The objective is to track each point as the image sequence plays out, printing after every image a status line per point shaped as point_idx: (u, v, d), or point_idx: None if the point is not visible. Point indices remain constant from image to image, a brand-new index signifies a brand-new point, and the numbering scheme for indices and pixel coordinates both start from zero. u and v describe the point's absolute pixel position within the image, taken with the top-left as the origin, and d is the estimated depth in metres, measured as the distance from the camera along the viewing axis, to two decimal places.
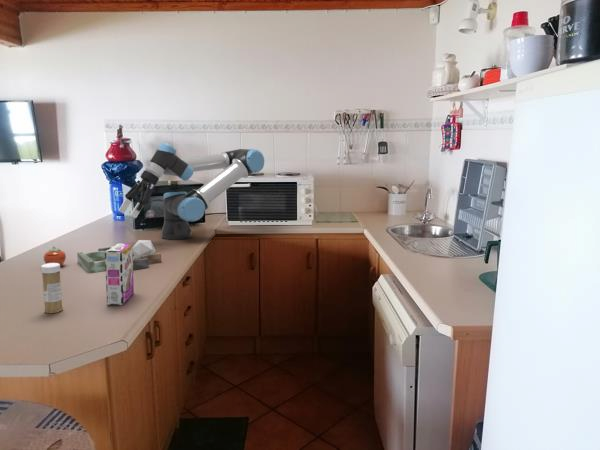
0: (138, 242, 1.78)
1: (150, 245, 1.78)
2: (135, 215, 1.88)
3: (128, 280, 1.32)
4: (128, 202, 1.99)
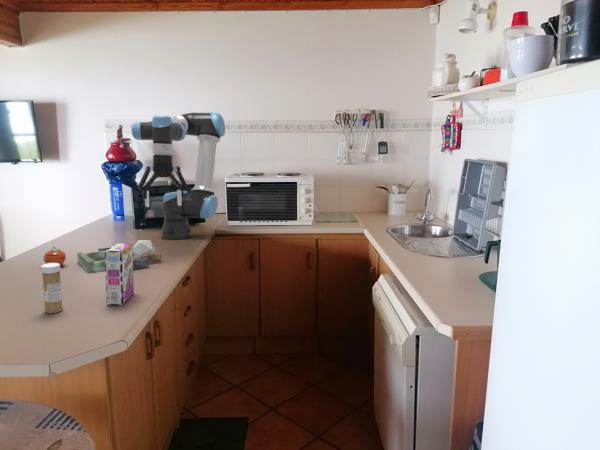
0: (138, 242, 1.78)
1: (150, 245, 1.78)
2: None
3: (128, 280, 1.32)
4: None
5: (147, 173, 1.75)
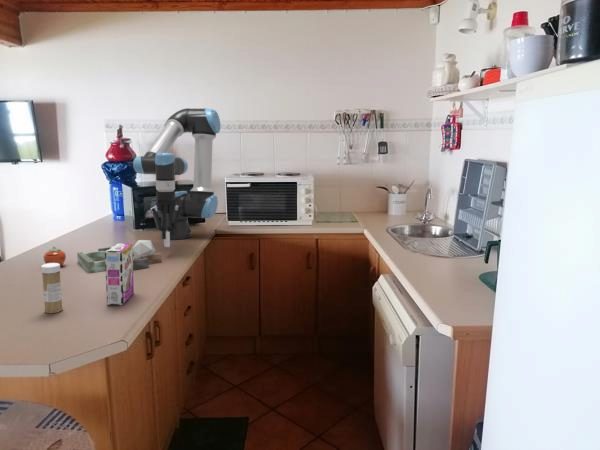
0: (138, 242, 1.78)
1: (150, 245, 1.78)
2: None
3: (128, 280, 1.32)
4: None
5: (156, 214, 1.79)
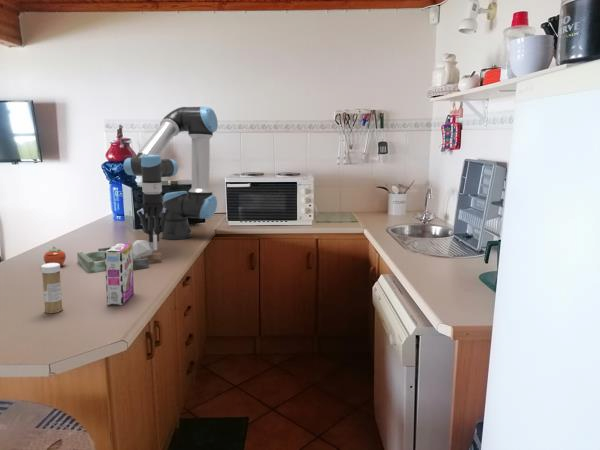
0: (135, 242, 1.77)
1: (147, 245, 1.77)
2: None
3: (128, 280, 1.32)
4: None
5: (142, 217, 1.75)
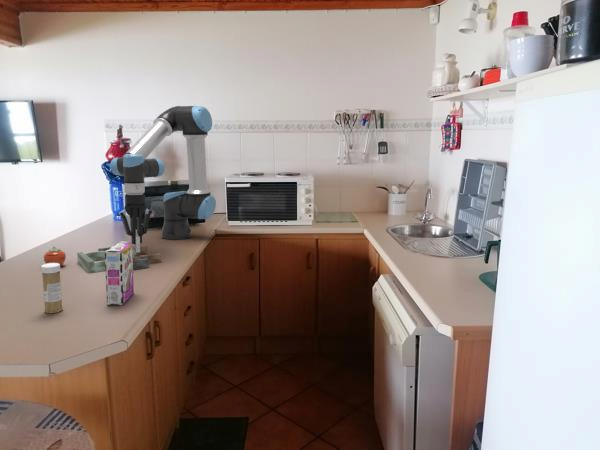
0: (119, 242, 1.75)
1: None
2: None
3: (128, 280, 1.32)
4: None
5: (124, 219, 1.71)
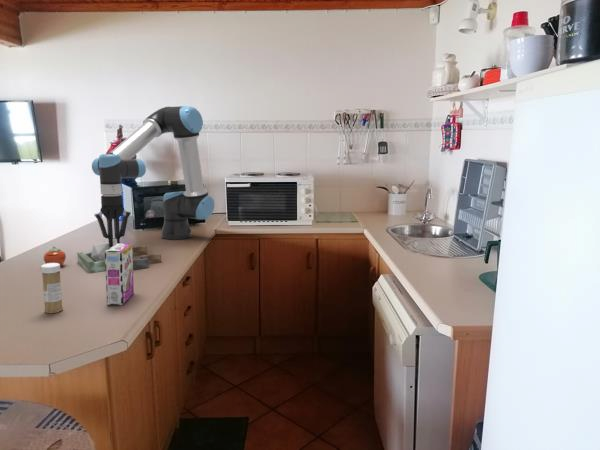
0: None
1: (101, 249, 1.69)
2: None
3: (128, 280, 1.32)
4: None
5: (101, 221, 1.66)
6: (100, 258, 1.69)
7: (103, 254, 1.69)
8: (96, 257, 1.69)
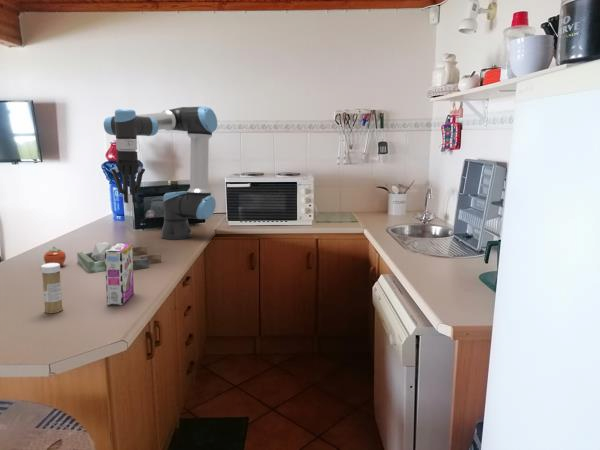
0: None
1: (103, 249, 1.69)
2: None
3: (128, 280, 1.32)
4: None
5: (116, 176, 1.67)
6: (101, 258, 1.69)
7: (104, 254, 1.69)
8: (97, 257, 1.69)
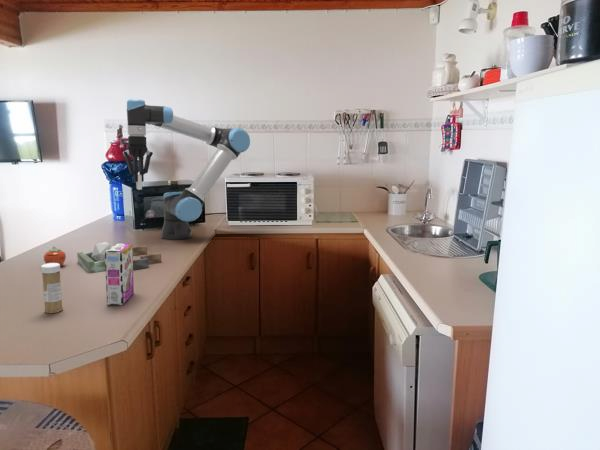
0: None
1: (103, 249, 1.69)
2: None
3: (128, 280, 1.32)
4: None
5: (128, 158, 1.91)
6: (101, 258, 1.69)
7: (104, 254, 1.69)
8: (97, 257, 1.69)
